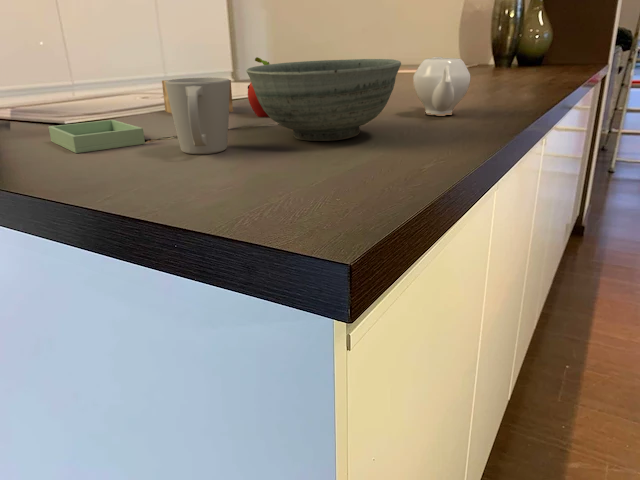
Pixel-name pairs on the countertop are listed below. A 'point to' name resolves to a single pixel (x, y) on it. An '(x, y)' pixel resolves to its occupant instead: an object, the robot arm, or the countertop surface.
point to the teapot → (441, 83)
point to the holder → (167, 103)
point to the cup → (200, 113)
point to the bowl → (324, 95)
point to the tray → (96, 135)
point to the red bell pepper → (253, 98)
